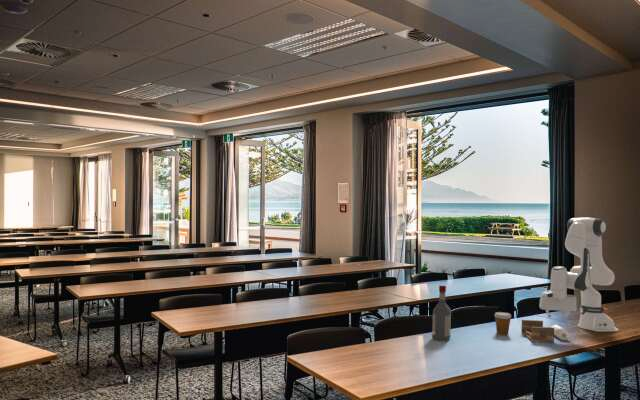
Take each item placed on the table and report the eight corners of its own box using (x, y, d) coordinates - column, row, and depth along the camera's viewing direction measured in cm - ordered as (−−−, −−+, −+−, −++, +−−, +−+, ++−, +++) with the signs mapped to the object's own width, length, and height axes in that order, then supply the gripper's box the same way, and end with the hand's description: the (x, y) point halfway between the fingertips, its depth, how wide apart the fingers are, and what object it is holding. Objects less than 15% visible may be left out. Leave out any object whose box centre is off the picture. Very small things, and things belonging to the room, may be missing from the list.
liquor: (450, 338, 281) (452, 285, 281) (447, 342, 273) (449, 287, 273) (434, 335, 285) (436, 284, 285) (431, 339, 276) (432, 286, 277)
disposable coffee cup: (512, 336, 288) (512, 315, 288) (495, 335, 290) (495, 314, 290) (509, 332, 297) (509, 312, 297) (492, 331, 299) (493, 311, 299)
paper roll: (548, 331, 296) (553, 322, 296) (557, 336, 295) (562, 327, 295) (557, 337, 283) (561, 328, 283) (566, 342, 283) (571, 332, 283)
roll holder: (520, 332, 297) (521, 319, 297) (541, 333, 296) (541, 320, 296) (532, 342, 277) (533, 327, 277) (554, 343, 276) (555, 328, 276)
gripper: (574, 294, 292) (573, 317, 291) (538, 292, 293) (537, 315, 293) (579, 296, 285) (578, 320, 285) (542, 294, 287) (541, 318, 287)
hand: (557, 317), depth 289 cm, fingers open, 8 cm apart
